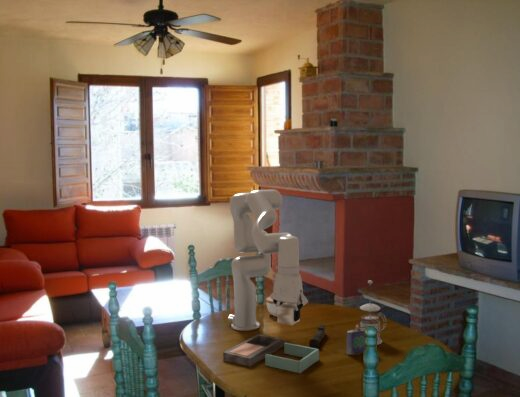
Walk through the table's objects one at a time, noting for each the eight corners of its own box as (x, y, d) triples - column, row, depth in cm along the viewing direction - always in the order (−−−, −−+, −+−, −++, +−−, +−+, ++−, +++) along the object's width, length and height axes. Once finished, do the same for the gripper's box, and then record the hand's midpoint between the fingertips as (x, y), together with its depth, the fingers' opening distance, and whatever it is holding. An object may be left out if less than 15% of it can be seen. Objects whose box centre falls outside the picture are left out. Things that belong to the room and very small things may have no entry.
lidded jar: (261, 315, 259) (261, 295, 259) (275, 310, 268) (275, 291, 267) (279, 319, 253) (279, 299, 252) (293, 314, 261) (293, 294, 260)
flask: (348, 355, 206) (348, 327, 205) (345, 353, 209) (345, 325, 208) (370, 352, 209) (370, 325, 208) (366, 350, 212) (366, 323, 211)
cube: (277, 322, 199) (277, 306, 198) (285, 318, 204) (285, 302, 203) (291, 325, 196) (291, 308, 195) (299, 320, 201) (299, 304, 200)
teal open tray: (265, 365, 198) (265, 354, 197) (285, 352, 210) (285, 342, 210) (300, 373, 190) (300, 362, 190) (318, 359, 202) (318, 349, 202)
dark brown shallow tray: (223, 360, 203) (223, 351, 203) (258, 341, 223) (258, 333, 223) (250, 366, 197) (250, 357, 197) (283, 346, 217) (283, 338, 217)
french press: (365, 335, 229) (365, 276, 227) (390, 341, 221) (391, 280, 219) (353, 341, 221) (353, 280, 219) (379, 347, 214) (379, 284, 212)
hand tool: (318, 349, 214) (318, 337, 213) (308, 348, 215) (308, 336, 215) (329, 334, 231) (329, 323, 231) (320, 333, 233) (320, 322, 232)
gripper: (262, 269, 199) (263, 317, 201) (304, 275, 190) (304, 325, 192) (273, 265, 206) (273, 312, 208) (314, 271, 197) (314, 319, 198)
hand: (288, 318), depth 200 cm, fingers closed on cube, 6 cm apart
